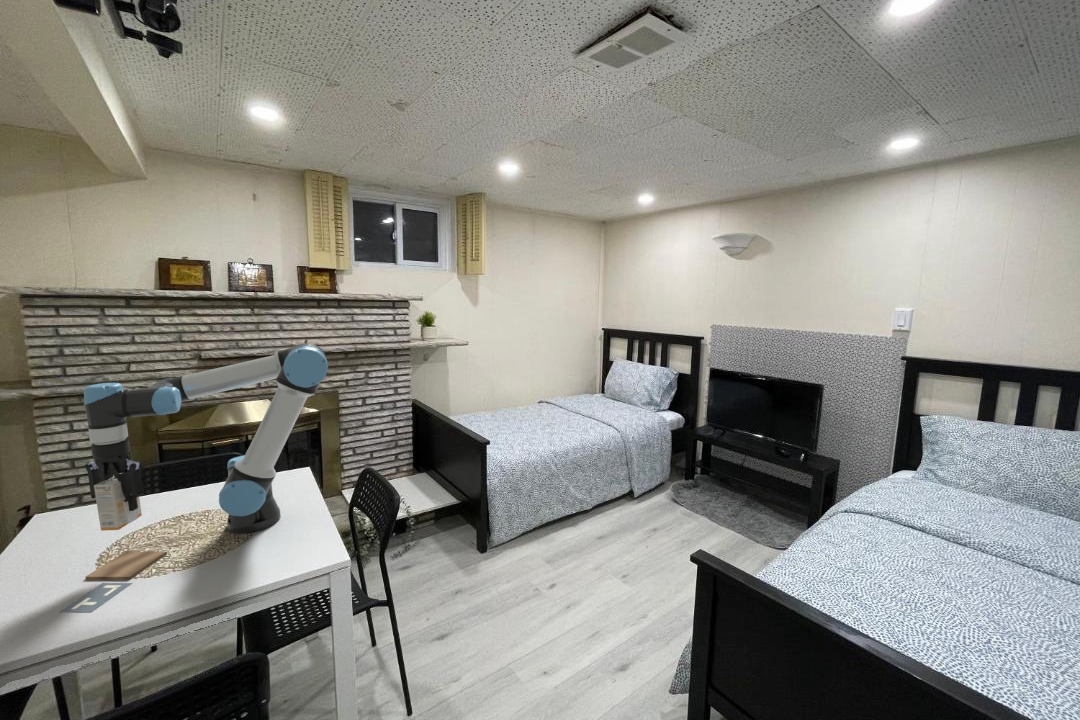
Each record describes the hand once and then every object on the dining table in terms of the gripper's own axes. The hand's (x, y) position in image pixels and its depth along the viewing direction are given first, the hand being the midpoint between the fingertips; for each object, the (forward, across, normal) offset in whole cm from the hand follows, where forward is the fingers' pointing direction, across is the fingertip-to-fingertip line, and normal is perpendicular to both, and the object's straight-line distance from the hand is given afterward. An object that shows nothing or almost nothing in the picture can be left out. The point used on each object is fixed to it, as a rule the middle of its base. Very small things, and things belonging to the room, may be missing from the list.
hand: (121, 521), depth 125 cm
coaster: (+14, 0, 0) cm, 14 cm away
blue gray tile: (+14, -4, +13) cm, 19 cm away
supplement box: (+1, 0, 0) cm, 1 cm away
